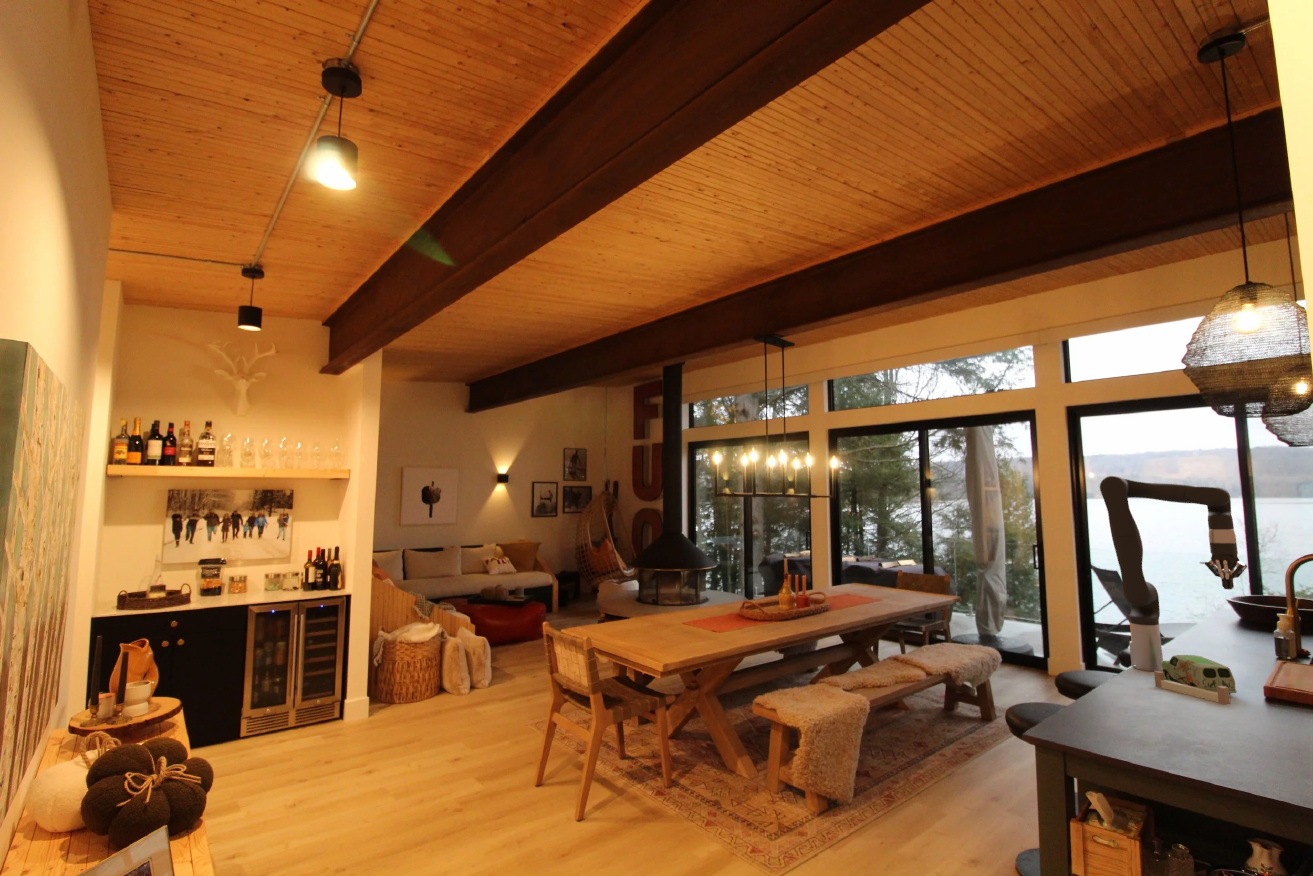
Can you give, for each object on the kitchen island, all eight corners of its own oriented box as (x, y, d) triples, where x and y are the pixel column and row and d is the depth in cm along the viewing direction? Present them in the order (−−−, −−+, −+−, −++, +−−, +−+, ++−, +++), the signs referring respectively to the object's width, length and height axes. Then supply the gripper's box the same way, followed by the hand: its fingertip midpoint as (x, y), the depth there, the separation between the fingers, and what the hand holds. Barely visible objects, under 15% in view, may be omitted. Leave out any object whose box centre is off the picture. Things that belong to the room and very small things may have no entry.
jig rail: (1155, 686, 227) (1154, 671, 228) (1159, 685, 228) (1158, 671, 228) (1225, 704, 206) (1223, 688, 207) (1230, 703, 207) (1228, 687, 207)
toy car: (1193, 677, 236) (1190, 649, 237) (1239, 698, 212) (1235, 667, 213) (1161, 677, 238) (1158, 649, 239) (1202, 697, 214) (1199, 666, 215)
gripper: (1195, 541, 242) (1201, 587, 240) (1235, 542, 229) (1242, 592, 228) (1210, 540, 244) (1215, 586, 242) (1250, 541, 231) (1256, 590, 230)
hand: (1228, 589), depth 235 cm, fingers closed
